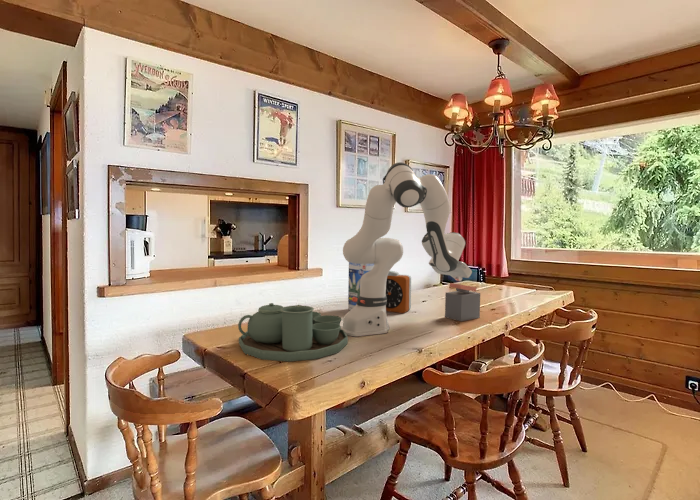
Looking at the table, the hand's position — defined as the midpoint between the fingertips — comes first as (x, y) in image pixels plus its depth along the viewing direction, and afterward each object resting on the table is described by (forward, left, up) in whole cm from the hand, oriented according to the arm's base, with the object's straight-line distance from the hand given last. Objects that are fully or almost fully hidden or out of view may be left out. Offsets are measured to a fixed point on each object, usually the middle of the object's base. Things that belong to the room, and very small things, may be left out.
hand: (459, 279), depth 193 cm
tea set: (-83, +6, -19) cm, 86 cm away
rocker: (+3, +1, -6) cm, 7 cm away
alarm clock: (-15, +32, -19) cm, 40 cm away
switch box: (+3, +1, -19) cm, 19 cm away
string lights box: (-29, +39, -19) cm, 52 cm away
